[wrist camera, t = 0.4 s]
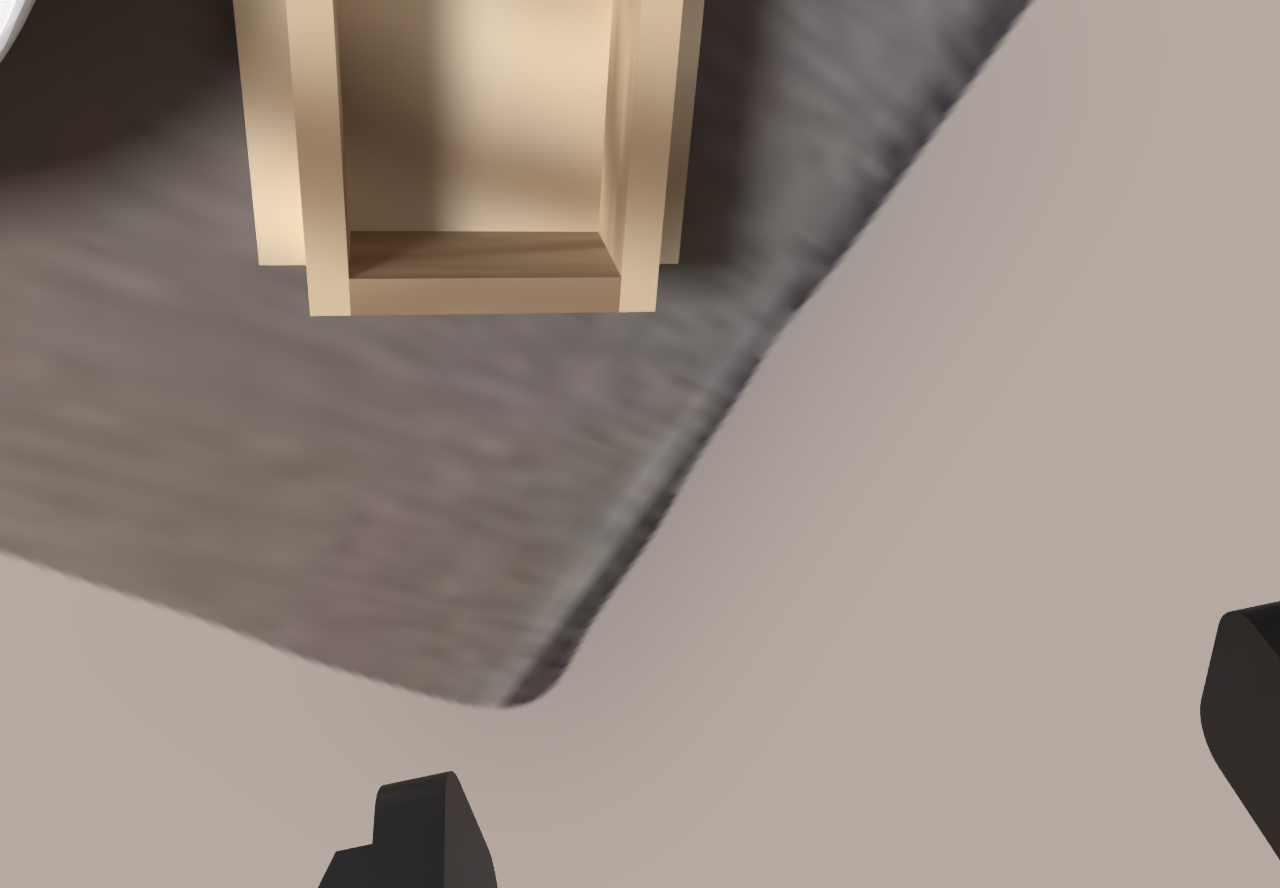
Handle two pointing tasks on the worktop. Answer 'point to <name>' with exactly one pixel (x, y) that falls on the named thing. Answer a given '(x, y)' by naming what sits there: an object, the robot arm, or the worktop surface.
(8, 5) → the serving bowl
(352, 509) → the worktop surface
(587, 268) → the divided storage tray
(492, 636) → the worktop surface
